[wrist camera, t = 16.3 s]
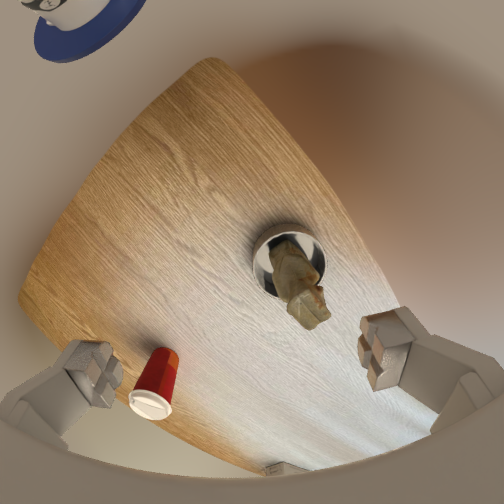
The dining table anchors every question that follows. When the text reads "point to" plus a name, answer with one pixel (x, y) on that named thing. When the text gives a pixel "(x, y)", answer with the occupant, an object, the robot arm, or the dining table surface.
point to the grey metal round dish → (274, 237)
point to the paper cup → (155, 385)
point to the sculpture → (298, 285)
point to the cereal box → (283, 469)
